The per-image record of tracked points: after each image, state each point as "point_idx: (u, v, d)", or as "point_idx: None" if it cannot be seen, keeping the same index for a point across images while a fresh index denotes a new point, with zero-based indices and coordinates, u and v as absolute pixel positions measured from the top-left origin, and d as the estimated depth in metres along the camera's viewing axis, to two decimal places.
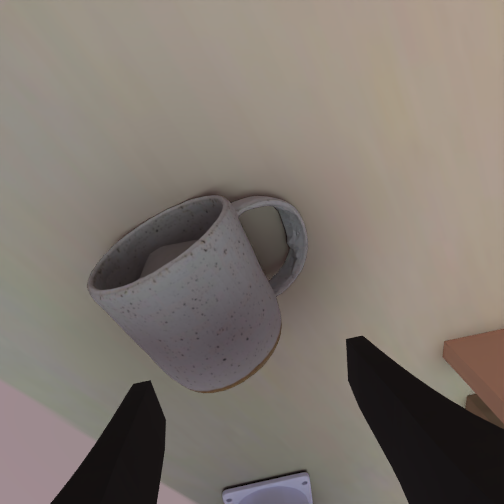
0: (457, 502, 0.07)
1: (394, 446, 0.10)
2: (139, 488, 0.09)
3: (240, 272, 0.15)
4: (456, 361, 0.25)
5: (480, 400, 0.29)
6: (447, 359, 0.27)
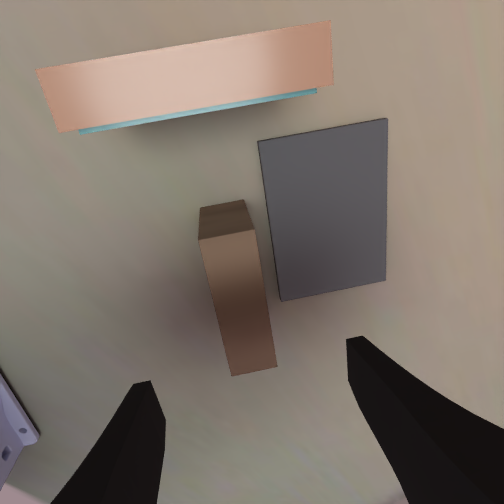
0: (457, 502, 0.07)
1: (394, 447, 0.10)
2: (139, 489, 0.09)
3: None
4: None
5: (211, 208, 0.19)
6: None
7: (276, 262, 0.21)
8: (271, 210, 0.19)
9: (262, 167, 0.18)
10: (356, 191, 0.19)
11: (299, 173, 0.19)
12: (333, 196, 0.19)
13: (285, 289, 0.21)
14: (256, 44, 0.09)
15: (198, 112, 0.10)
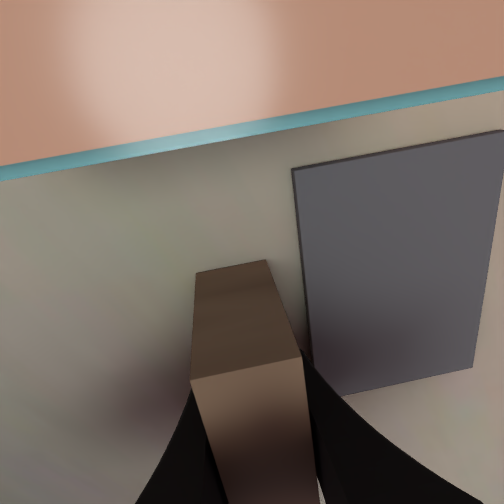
0: None
1: (318, 464, 0.10)
2: None
3: None
4: None
5: (215, 280, 0.11)
6: None
7: (314, 349, 0.13)
8: (310, 276, 0.12)
9: (298, 212, 0.11)
10: (445, 245, 0.12)
11: (358, 220, 0.11)
12: (408, 253, 0.12)
13: None
14: None
15: (175, 145, 0.03)
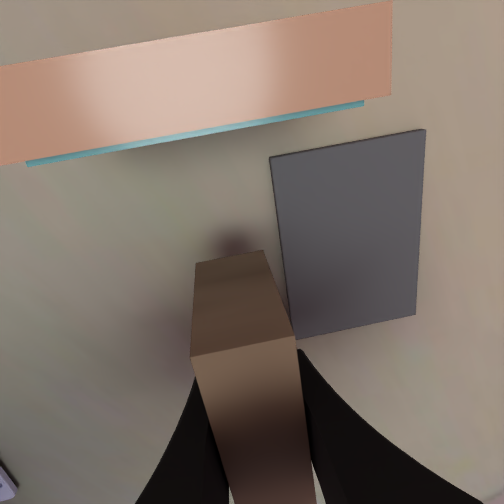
0: None
1: (318, 464, 0.10)
2: (219, 470, 0.10)
3: None
4: None
5: (214, 269, 0.12)
6: None
7: (289, 296, 0.18)
8: (284, 238, 0.16)
9: (274, 188, 0.15)
10: (385, 215, 0.16)
11: (318, 195, 0.16)
12: (358, 221, 0.16)
13: (299, 326, 0.18)
14: (282, 36, 0.06)
15: (196, 134, 0.07)
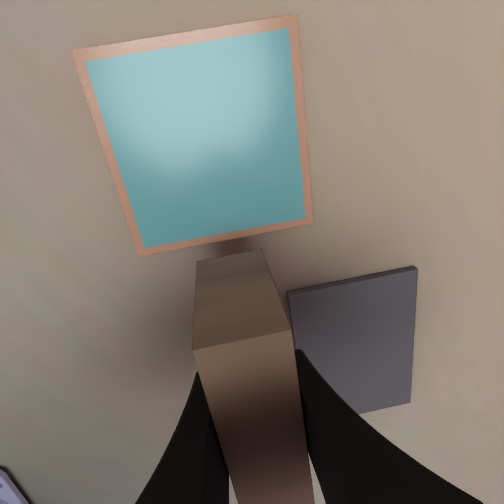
0: None
1: (318, 464, 0.10)
2: (219, 470, 0.10)
3: None
4: None
5: (214, 267, 0.12)
6: None
7: None
8: None
9: (291, 316, 0.18)
10: (384, 330, 0.19)
11: (328, 319, 0.19)
12: (361, 336, 0.19)
13: None
14: None
15: (186, 45, 0.12)
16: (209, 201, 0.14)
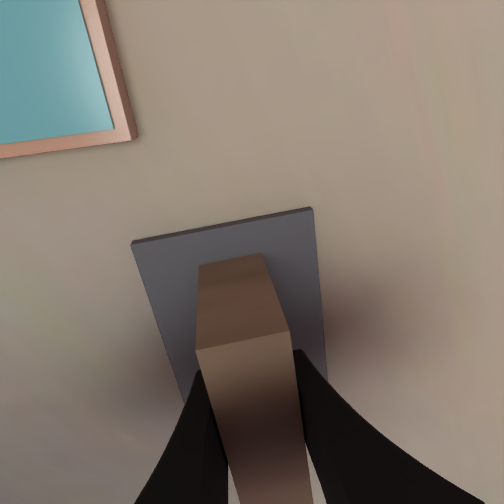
0: None
1: (319, 464, 0.10)
2: (218, 471, 0.10)
3: None
4: None
5: (216, 270, 0.13)
6: None
7: (179, 384, 0.16)
8: (162, 325, 0.14)
9: (141, 276, 0.13)
10: (278, 298, 0.14)
11: (195, 280, 0.14)
12: None
13: None
14: None
15: None
16: None
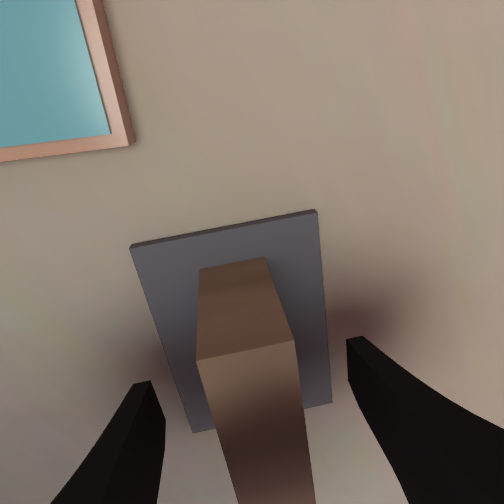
0: (457, 502, 0.07)
1: (394, 447, 0.10)
2: (139, 489, 0.09)
3: None
4: None
5: (217, 275, 0.12)
6: None
7: (179, 390, 0.15)
8: (162, 331, 0.14)
9: (140, 280, 0.13)
10: (281, 303, 0.14)
11: (196, 285, 0.13)
12: None
13: (196, 419, 0.16)
14: None
15: None
16: None
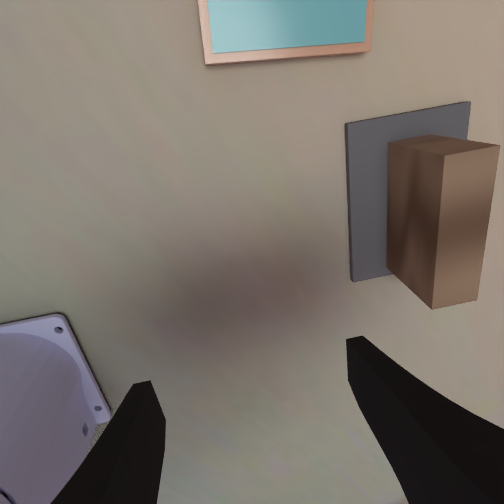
0: (457, 502, 0.07)
1: (394, 447, 0.10)
2: (139, 488, 0.09)
3: None
4: None
5: (406, 141, 0.18)
6: None
7: (352, 243, 0.21)
8: (353, 191, 0.20)
9: (348, 149, 0.19)
10: None
11: (382, 155, 0.19)
12: None
13: (358, 269, 0.22)
14: None
15: None
16: (279, 7, 0.15)
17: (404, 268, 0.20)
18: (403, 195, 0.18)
